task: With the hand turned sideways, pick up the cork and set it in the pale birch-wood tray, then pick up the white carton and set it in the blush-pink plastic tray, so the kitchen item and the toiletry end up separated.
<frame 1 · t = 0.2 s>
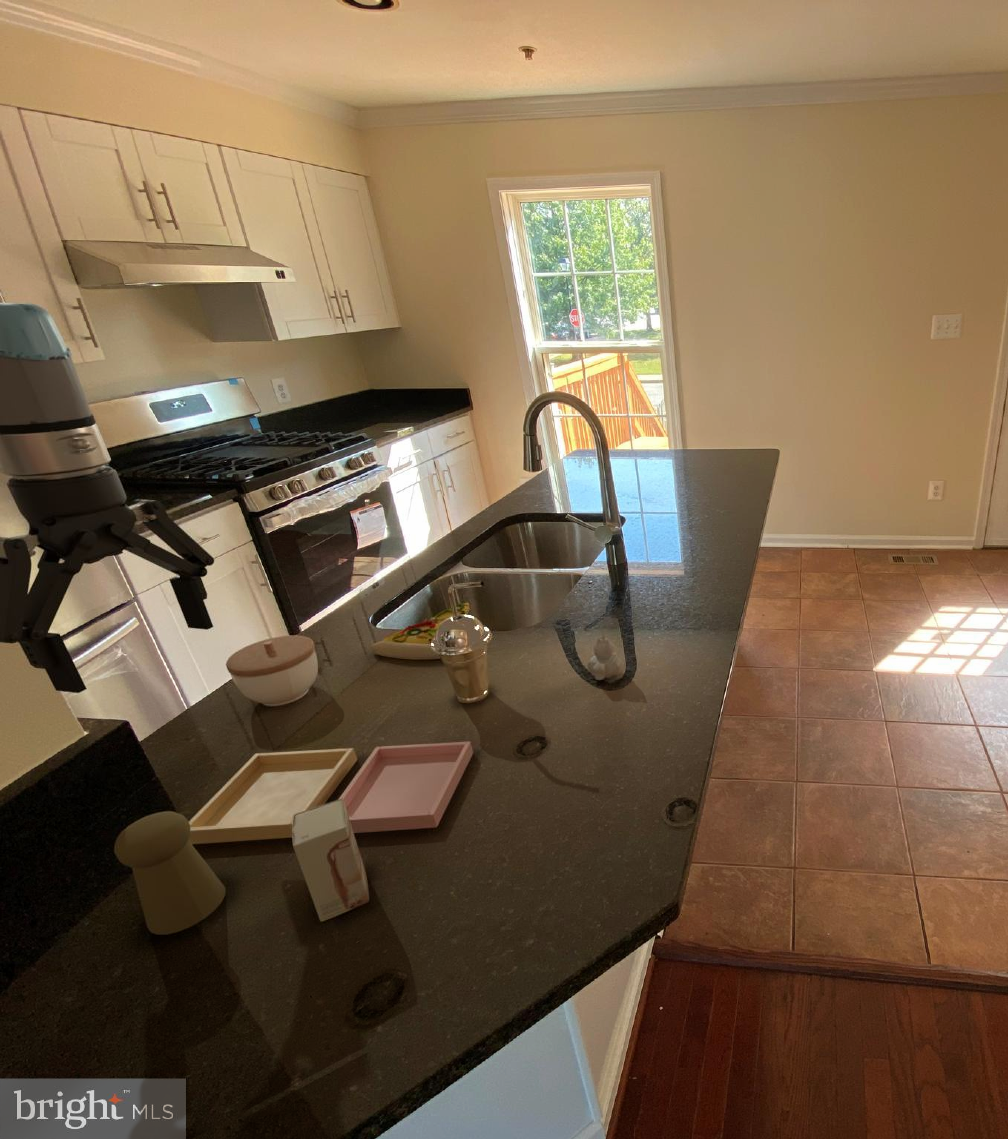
hand: (142, 656, 69), 20 cm above the worktop, tool pointing down, fingers open, 13 cm apart
birch tray: (278, 798, 76), on the worktop
trinket box: (285, 695, 96), on the worktop
white carton: (345, 895, 64), on the worktop
cup with straw: (474, 696, 96), on the worktop
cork: (188, 908, 62), on the worktop
pizza slice: (442, 633, 115), on the worktop
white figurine: (605, 678, 102), on the worktop
pink tray: (406, 790, 77), on the worktop
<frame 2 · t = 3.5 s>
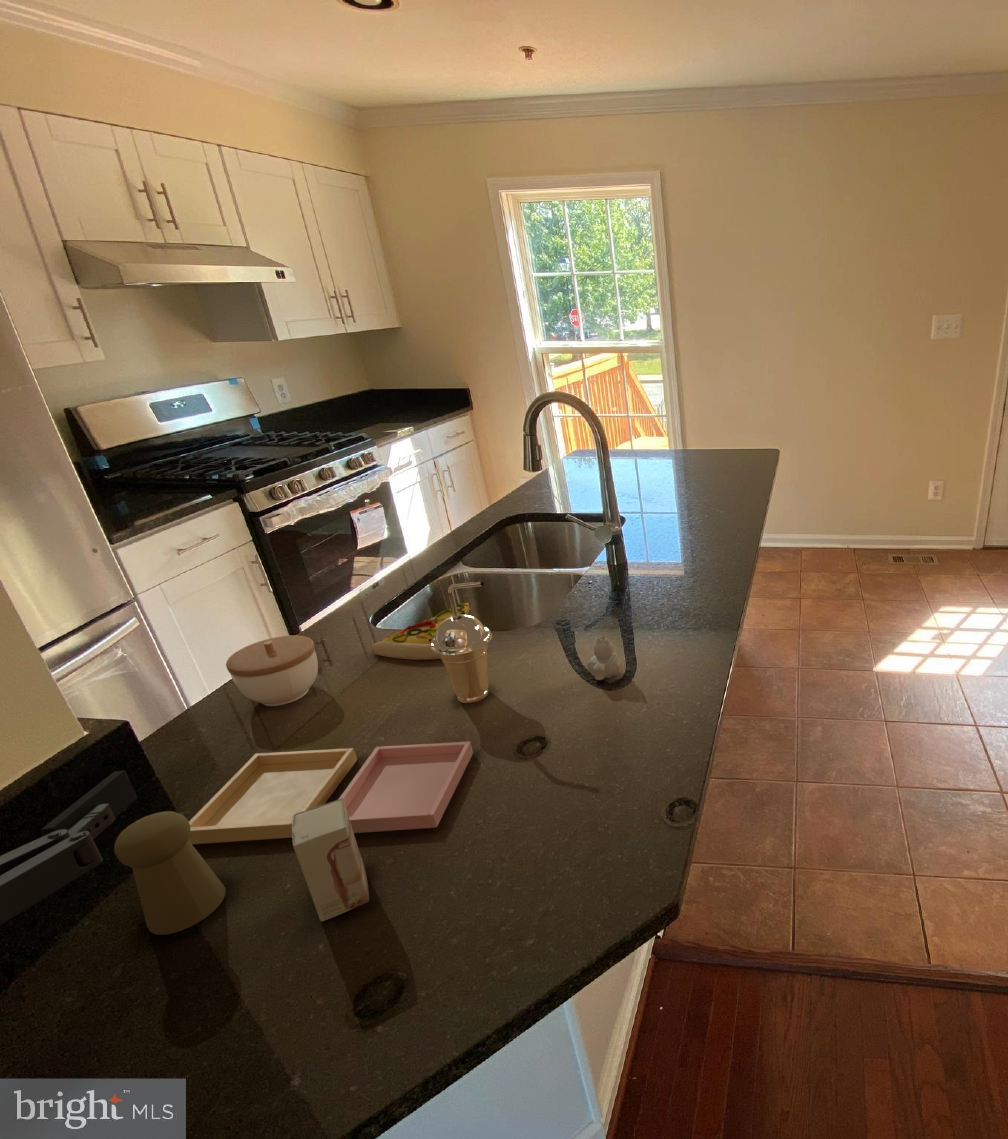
hand: (26, 798, 48), 20 cm above the worktop, tool horizontal, fingers open, 13 cm apart
nothing on the worktop moved.
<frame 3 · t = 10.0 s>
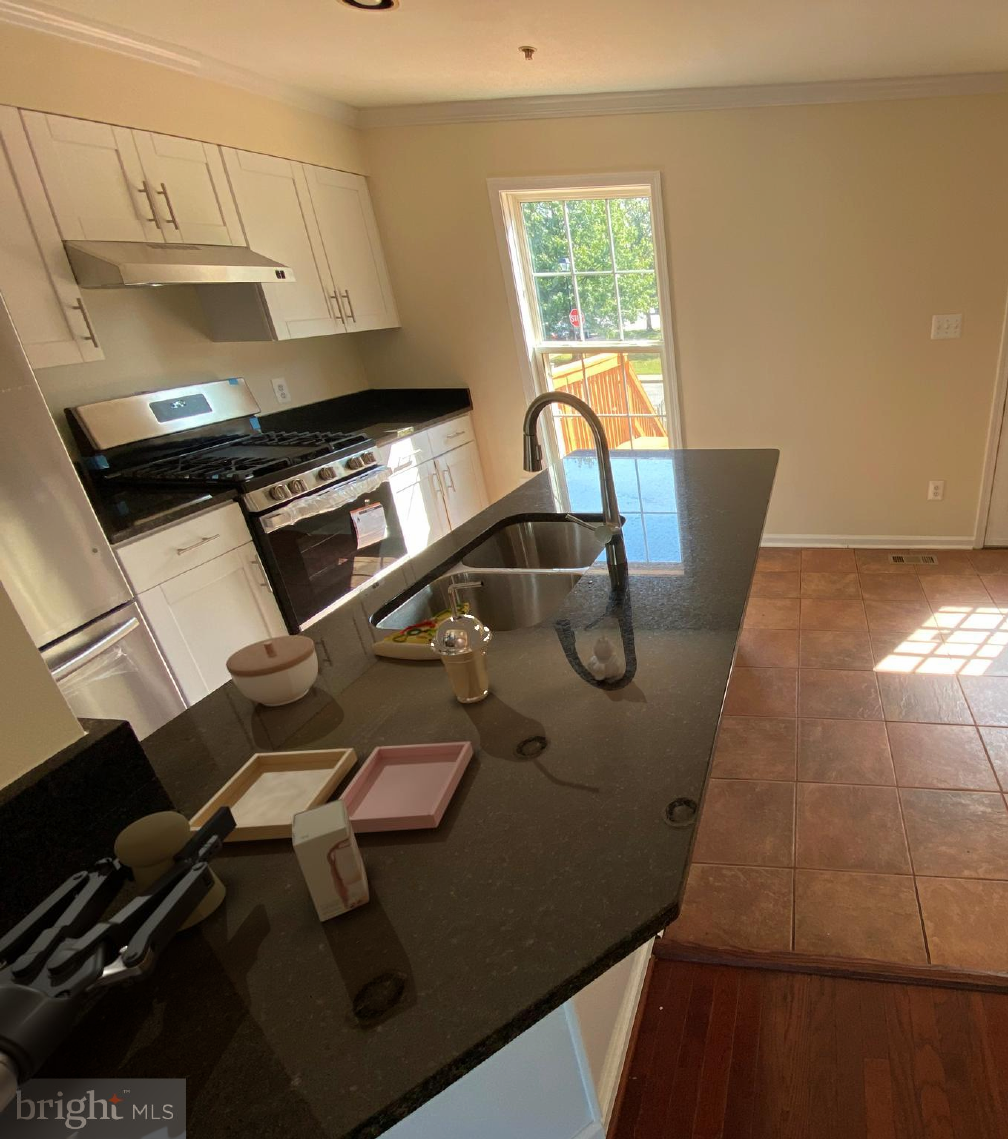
hand: (204, 817, 64), 6 cm above the worktop, tool horizontal, fingers closed on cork, 4 cm apart
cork: (188, 908, 62), on the worktop, touching gripper
everything else where it was.
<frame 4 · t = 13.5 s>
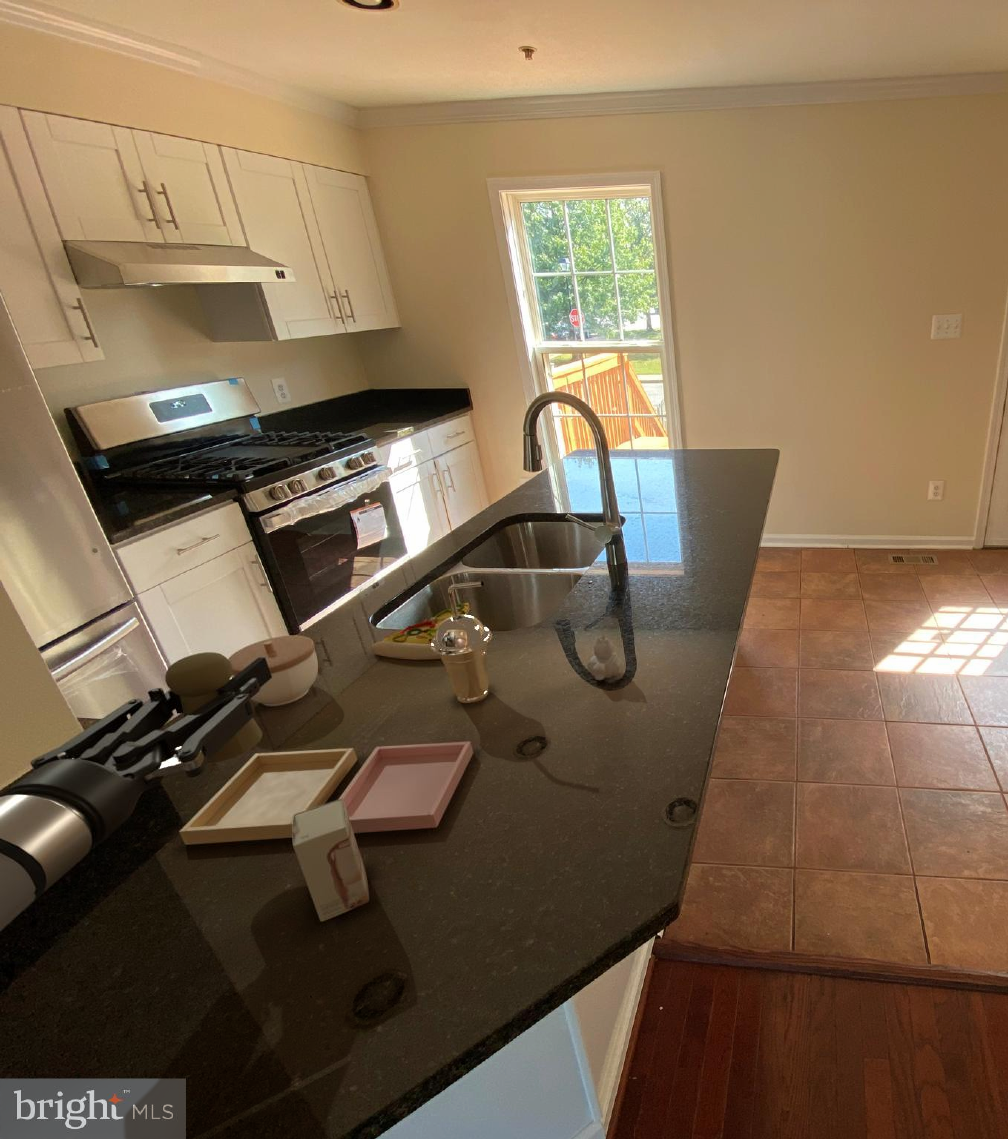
hand: (242, 668, 70), 18 cm above the worktop, tool horizontal, fingers closed on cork, 4 cm apart
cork: (228, 746, 68), point 11 cm above the worktop, touching gripper
everything else where it was.
when the fingers open (7 cm above the worktop, at t = 17.2 s): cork stays where it is, resting on birch tray.
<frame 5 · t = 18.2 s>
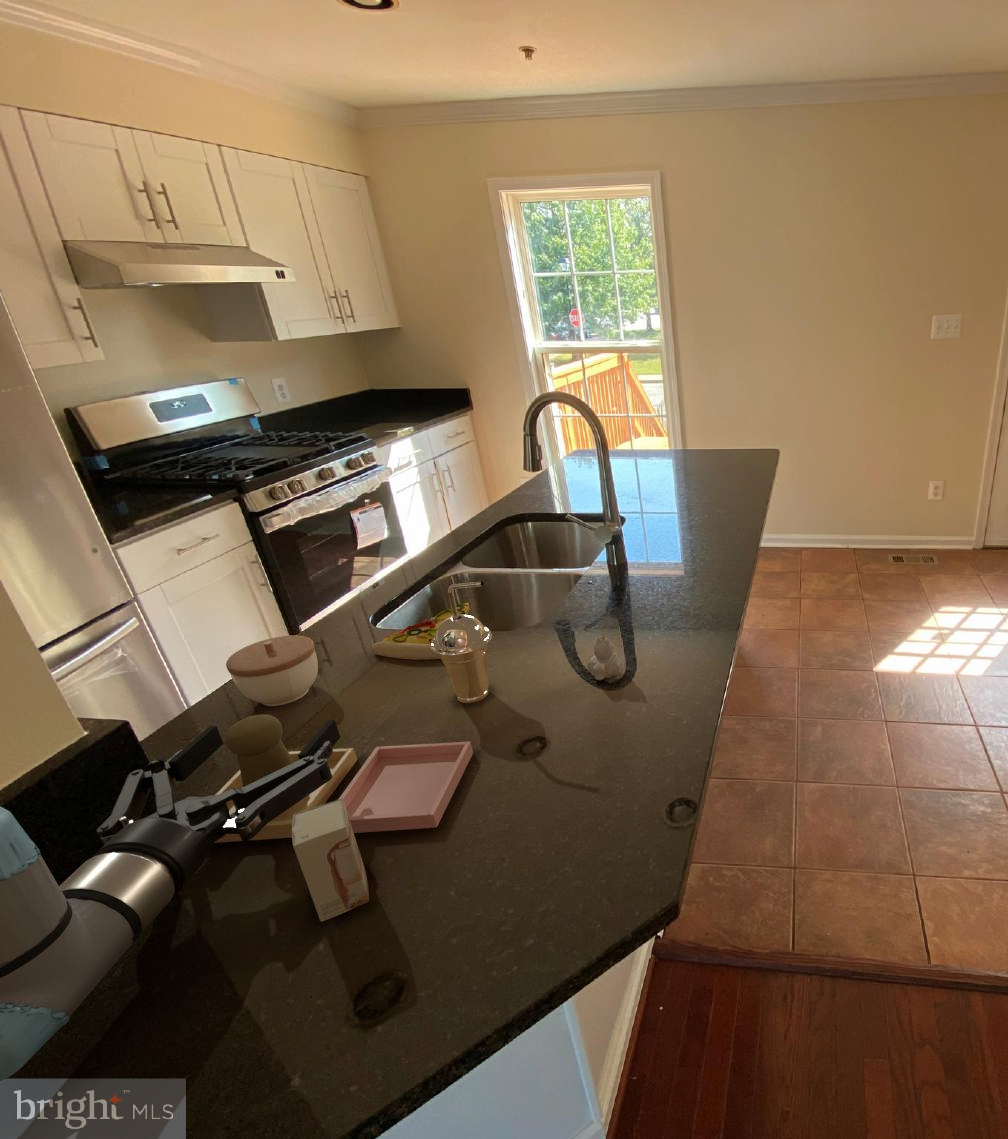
hand: (276, 731, 76), 8 cm above the worktop, tool horizontal, fingers open, 13 cm apart
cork: (278, 796, 76), resting on birch tray
everything else where it was.
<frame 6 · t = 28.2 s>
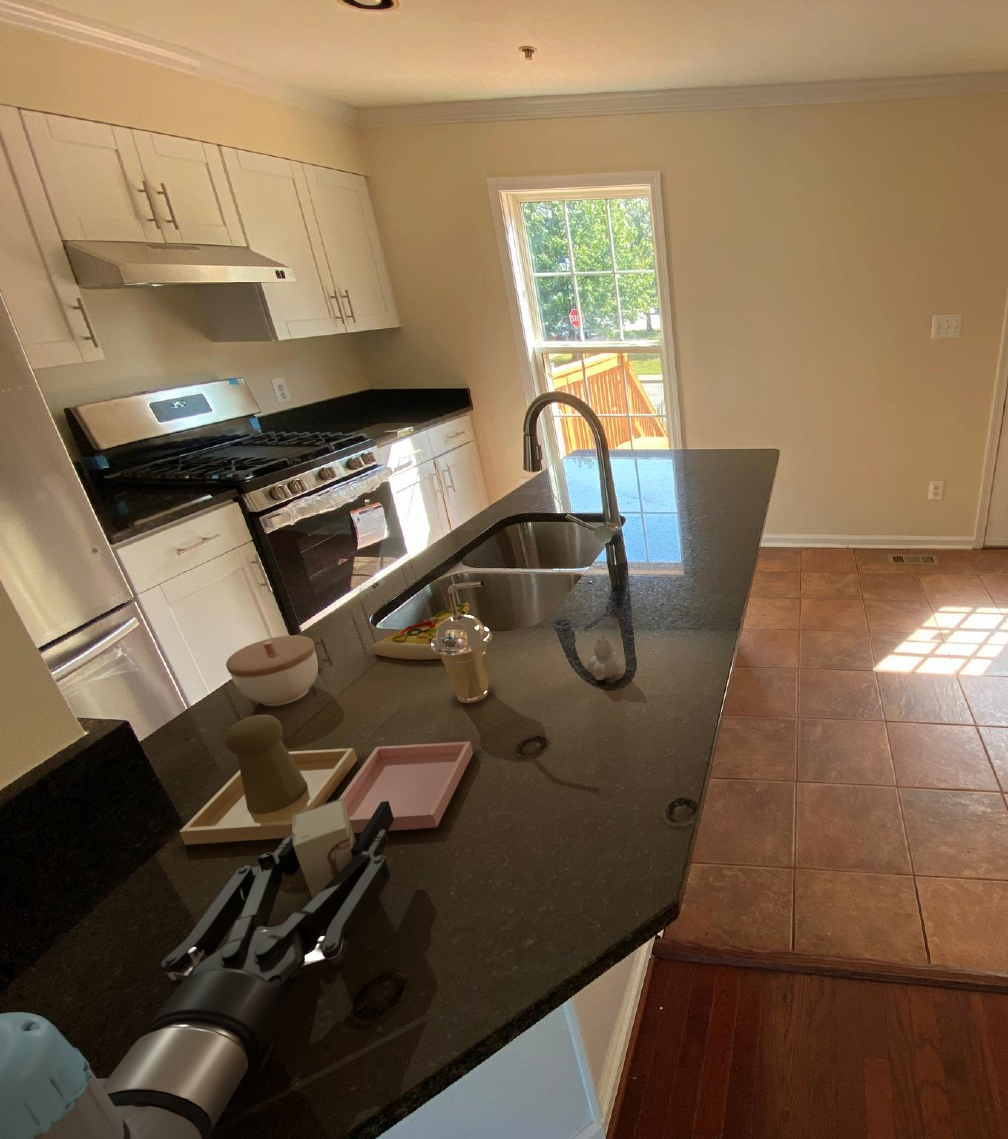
hand: (355, 813, 66), 6 cm above the worktop, tool horizontal, fingers closed on white carton, 6 cm apart
white carton: (345, 895, 64), on the worktop, touching gripper
everything else where it was.
when the fingers open (6 cm above the worktop, at t = 36.0 s): white carton stays where it is, resting on pink tray.
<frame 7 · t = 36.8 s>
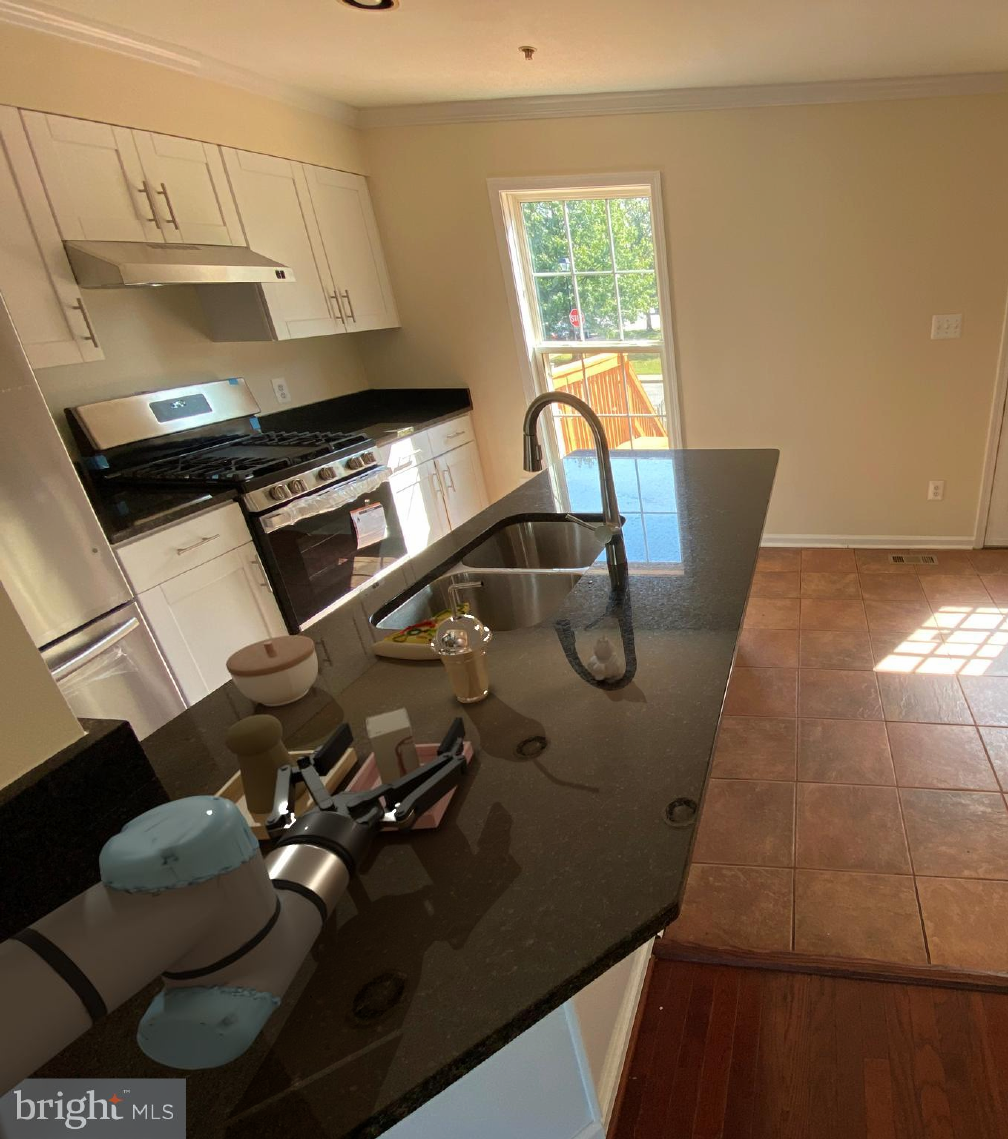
hand: (405, 728, 77), 7 cm above the worktop, tool horizontal, fingers open, 13 cm apart
white carton: (406, 788, 77), resting on pink tray
everything else where it was.
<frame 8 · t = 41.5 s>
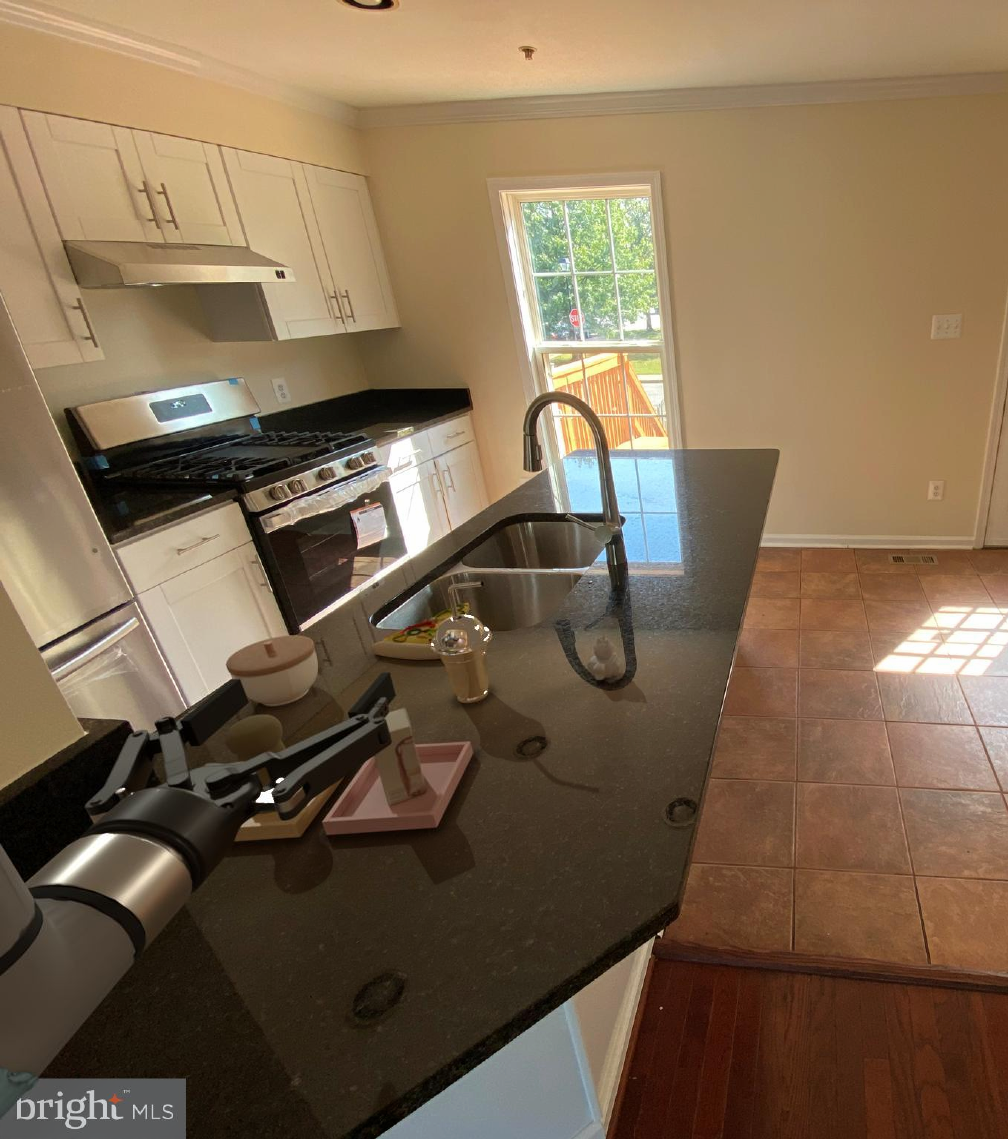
hand: (315, 687, 60), 22 cm above the worktop, tool horizontal, fingers open, 13 cm apart
nothing on the worktop moved.
at the end: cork inside the target area in the birch tray (0.1 cm from its centre), point 0.3 cm above the birch tray's base; white carton inside the target area in the pink tray (0.1 cm from its centre), point 0.3 cm above the pink tray's base; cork tilted 0° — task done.
